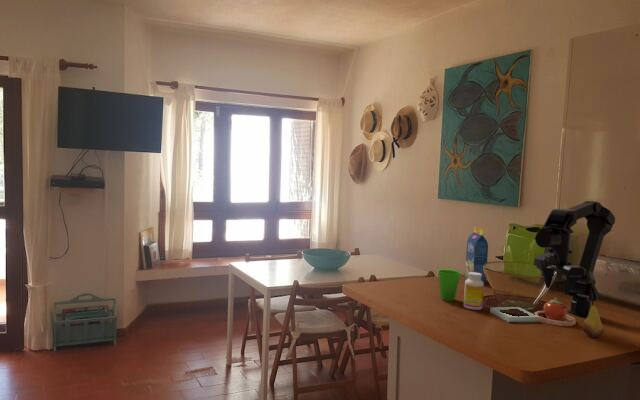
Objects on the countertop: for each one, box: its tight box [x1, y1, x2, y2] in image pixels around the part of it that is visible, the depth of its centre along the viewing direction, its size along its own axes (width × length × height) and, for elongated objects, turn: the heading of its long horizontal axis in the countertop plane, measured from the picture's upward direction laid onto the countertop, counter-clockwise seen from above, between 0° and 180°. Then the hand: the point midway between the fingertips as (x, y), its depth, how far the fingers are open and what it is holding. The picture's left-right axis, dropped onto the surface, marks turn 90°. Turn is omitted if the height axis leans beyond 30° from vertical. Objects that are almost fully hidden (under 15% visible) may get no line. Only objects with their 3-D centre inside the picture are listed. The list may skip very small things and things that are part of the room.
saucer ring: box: [533, 310, 577, 327], centre depth 166 cm, size 13×13×1 cm
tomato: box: [542, 297, 568, 321], centre depth 166 cm, size 7×7×8 cm
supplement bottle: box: [463, 272, 485, 311], centre depth 176 cm, size 7×7×13 cm
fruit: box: [582, 297, 604, 338], centre depth 150 cm, size 6×6×12 cm
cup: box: [437, 268, 462, 302], centre depth 187 cm, size 9×9×11 cm
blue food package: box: [464, 226, 489, 284], centre depth 224 cm, size 6×12×25 cm, turn 0°
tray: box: [489, 306, 540, 323], centre depth 167 cm, size 12×12×2 cm
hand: (556, 291), depth 165 cm, fingers open, 9 cm apart
